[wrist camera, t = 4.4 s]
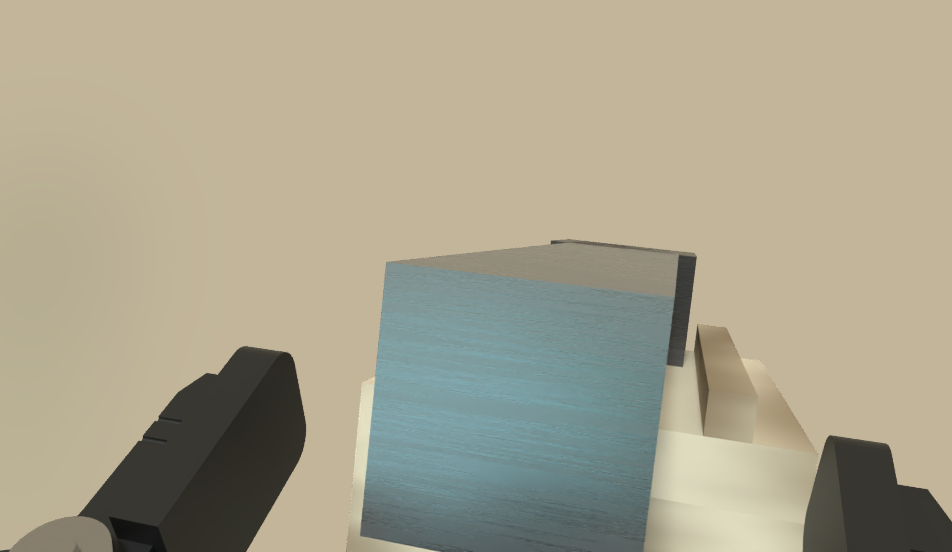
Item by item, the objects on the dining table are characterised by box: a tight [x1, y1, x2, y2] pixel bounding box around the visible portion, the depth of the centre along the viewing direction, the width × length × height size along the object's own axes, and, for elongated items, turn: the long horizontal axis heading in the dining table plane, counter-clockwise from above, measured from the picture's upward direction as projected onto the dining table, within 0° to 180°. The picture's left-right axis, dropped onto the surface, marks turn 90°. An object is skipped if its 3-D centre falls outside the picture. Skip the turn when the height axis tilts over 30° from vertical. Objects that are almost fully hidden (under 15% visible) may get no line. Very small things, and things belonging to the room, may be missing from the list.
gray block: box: [360, 239, 696, 552], centre depth 21 cm, size 5×22×4 cm, turn 166°
